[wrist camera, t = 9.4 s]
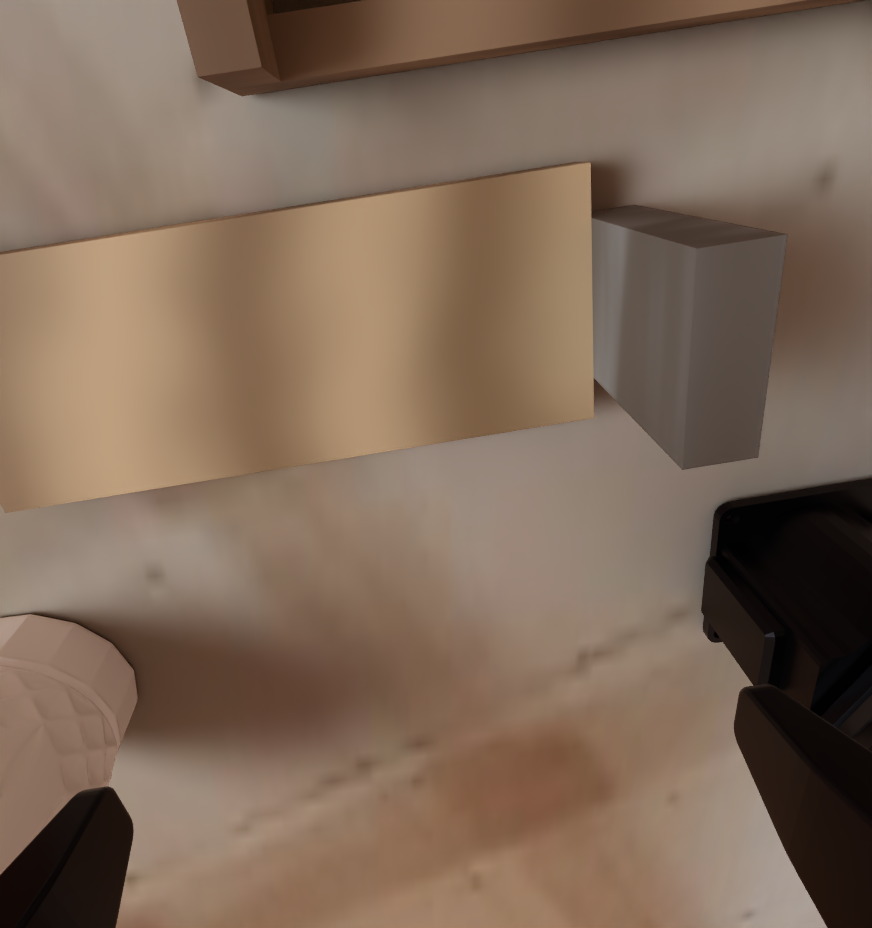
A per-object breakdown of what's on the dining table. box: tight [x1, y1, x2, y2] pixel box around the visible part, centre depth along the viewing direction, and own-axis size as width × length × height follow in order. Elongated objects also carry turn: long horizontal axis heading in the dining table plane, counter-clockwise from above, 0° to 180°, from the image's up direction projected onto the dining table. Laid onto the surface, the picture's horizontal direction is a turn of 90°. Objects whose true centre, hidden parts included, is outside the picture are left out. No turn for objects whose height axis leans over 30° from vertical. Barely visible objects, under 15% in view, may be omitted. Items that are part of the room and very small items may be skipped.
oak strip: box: [0, 162, 787, 513], centre depth 14 cm, size 20×7×7 cm, turn 98°
